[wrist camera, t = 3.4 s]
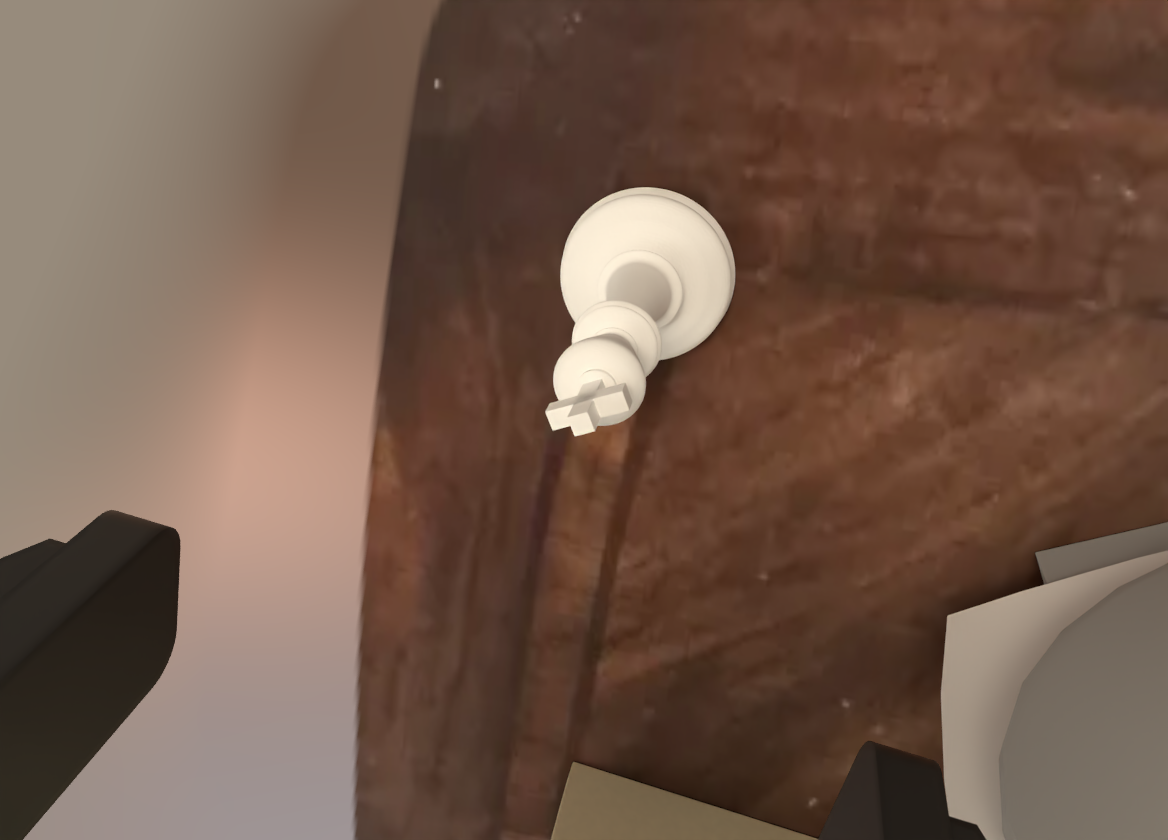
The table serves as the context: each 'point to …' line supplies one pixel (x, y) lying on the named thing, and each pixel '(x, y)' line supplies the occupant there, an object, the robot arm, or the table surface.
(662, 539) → the table surface
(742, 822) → the box with green top
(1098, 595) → the alarm clock
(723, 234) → the chess piece
